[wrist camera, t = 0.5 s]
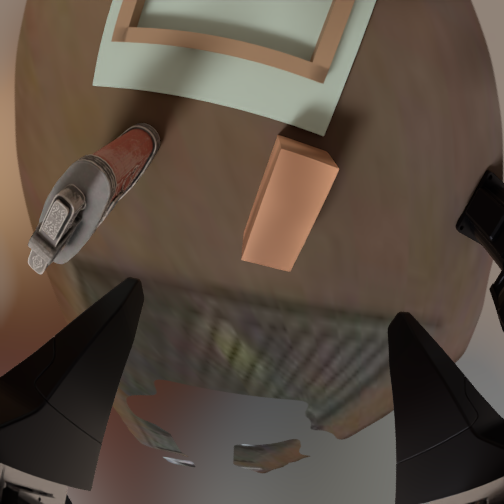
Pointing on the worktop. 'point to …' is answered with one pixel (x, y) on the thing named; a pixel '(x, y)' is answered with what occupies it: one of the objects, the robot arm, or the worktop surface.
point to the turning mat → (237, 53)
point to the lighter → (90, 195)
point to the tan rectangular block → (287, 203)
